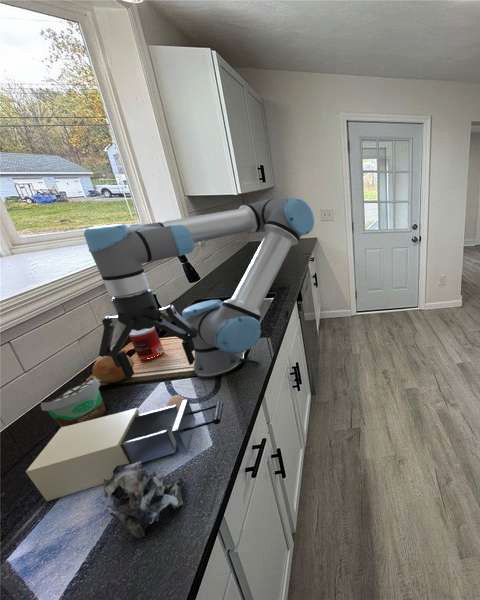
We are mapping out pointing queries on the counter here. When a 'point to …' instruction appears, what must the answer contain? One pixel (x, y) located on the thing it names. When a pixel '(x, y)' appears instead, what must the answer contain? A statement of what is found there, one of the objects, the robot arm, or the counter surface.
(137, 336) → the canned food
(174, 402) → the egg
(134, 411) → the cream drawer box
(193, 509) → the counter surface
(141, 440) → the grey drawer
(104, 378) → the onion
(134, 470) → the foil
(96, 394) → the food container
